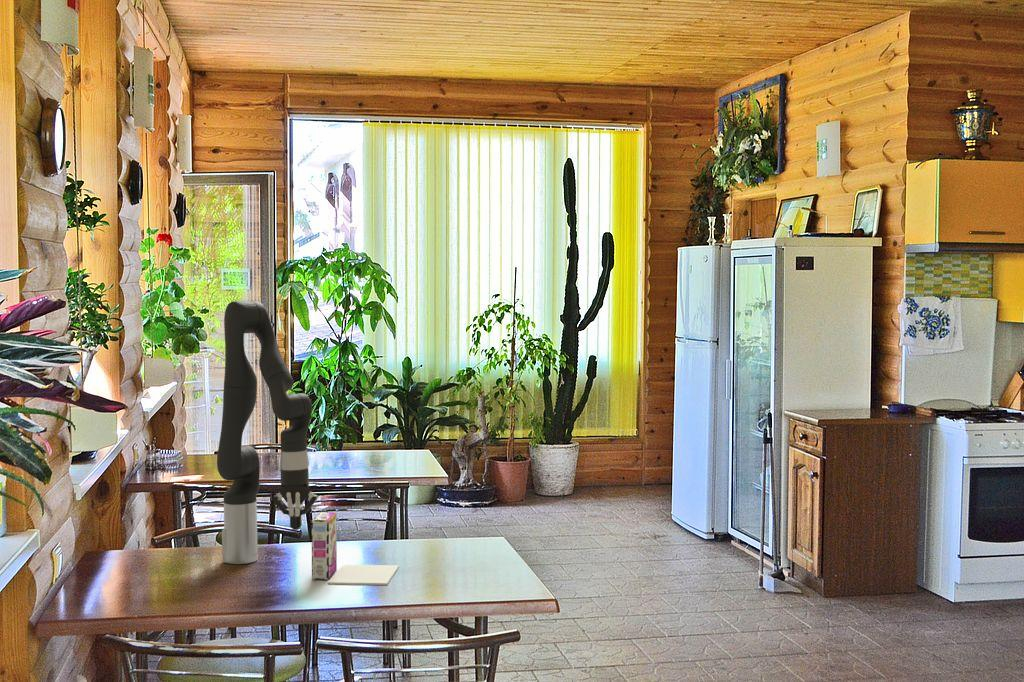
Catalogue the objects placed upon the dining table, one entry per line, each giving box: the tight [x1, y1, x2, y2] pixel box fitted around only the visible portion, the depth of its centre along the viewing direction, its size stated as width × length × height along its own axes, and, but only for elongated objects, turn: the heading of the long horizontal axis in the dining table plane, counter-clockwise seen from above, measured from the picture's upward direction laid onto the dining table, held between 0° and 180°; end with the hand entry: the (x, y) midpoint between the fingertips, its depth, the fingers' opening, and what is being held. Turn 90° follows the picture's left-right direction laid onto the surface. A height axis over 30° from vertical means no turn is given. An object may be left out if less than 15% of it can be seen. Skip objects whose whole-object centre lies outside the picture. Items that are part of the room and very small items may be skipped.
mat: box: [327, 564, 400, 586], centre depth 296 cm, size 16×18×1 cm
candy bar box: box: [311, 511, 338, 581], centre depth 296 cm, size 11×5×16 cm, turn 178°
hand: (296, 529), depth 297 cm, fingers closed
